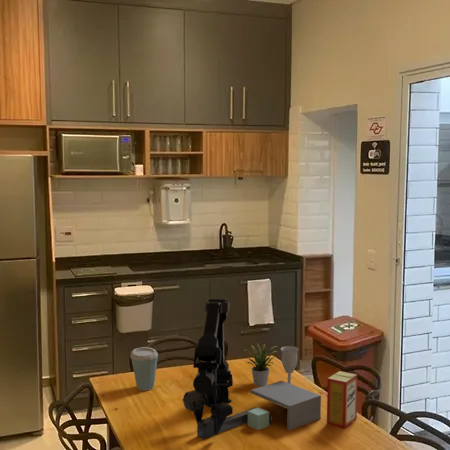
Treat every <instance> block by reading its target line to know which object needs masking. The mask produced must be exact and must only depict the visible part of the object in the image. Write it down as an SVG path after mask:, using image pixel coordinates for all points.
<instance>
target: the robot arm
mask: <svg viewBox="0 0 450 450" xmlns="http://www.w3.org/2000/svg"><path fill="white" fill-rule="evenodd" d="M203 303H204V305H203V307H204V309H203V310H204V311H203V312H204V313H206V315H205V321H204V328H203V329H204V330H203V334H202V336H201V337H199V338H198V340H197V345H196V346H195V348H194V356H193V363H192V364H193V366H192V368H193V369H195V368H196V369H197V373H196V375H195V377H194V379H193V381H192V386H193V388H194V390H189V391H186V392H184V393H185V394H184V395H183V398H182V402H183V405H184V408H185V409H186V410H188V411H190V412H192V413H193V416H194V418H195V421H196V423H197V421H200V420H203V417H204V416H203V414H204V410H205V407H208V408H210V414H211V415H210V416H209V417H212V418H213V420H214V432H215V434H217V435H219V434H220V433H219V431H220V429H221V427H222V425H223V423H224V421H225V419H226V418H227V417H229V416H232V415H234V413H233V411H234V409H233V406H232V405H230V404H229V403H231V402H232V399H230V398H229V396H230V395H229V394H230V393H229V388H231V387H233V385H234V384H233V383H234V381H233V373H232V372H231V370H230V365H229V363H228V361H227V360H226V359H225V324H224V323H225V321H227V317H228V314H229V312H230V309H231V308H230V307H231V304H230V301H229V300H228V299H227V298H218V297H217V298H215V297H209V299H208V300H207V301H206V300H205V301H204V302H203Z"/></svg>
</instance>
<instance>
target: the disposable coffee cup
mask: <svg viewBox="0 0 450 450" xmlns="http://www.w3.org/2000/svg"><path fill="white" fill-rule="evenodd" d="M158 357H159V352H157V350H156V349H155V348H152V347H150V346H149V347H148V346H142V347H137V348H134V349H133V350H132V351H131V353H130V359H131V362H132V368H133V373H134V374H133V375H134V379H135V384H136V389H137V390H139V391H142V392H143V391H144V392H145V391H150V390H153V389H154V387H155V383H156V382H155V381H156V375H157V373H156V372H157V365H158Z"/></svg>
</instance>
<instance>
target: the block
mask: <svg viewBox="0 0 450 450" xmlns="http://www.w3.org/2000/svg"><path fill="white" fill-rule="evenodd" d="M254 408H255V409H252V408H251V409H252V410H250V411H248V422H247V426H248V427H250V428H252V429H254V430H257V431H261V430H263V429H265V428H267V427H270V424H269V414H270V411H268V410H266V409H264V408H261V407H259V406H258V407H254Z"/></svg>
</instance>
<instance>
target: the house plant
mask: <svg viewBox="0 0 450 450" xmlns="http://www.w3.org/2000/svg"><path fill="white" fill-rule="evenodd" d="M256 345H257V347H258V348H259V349H257V348H256V347H255V346H254V345H251V347H252V350H253V354H252V353H251V352H250V351H248V350H247V349H243V350H244V351H247V352H249V354H250V355H252V357H253V359H252V358H250V357H247V359H248V360H249V361H246V362H245V363H247V364H251V366H252V367H251V374H252V379H253V385H254V386H256V387H262V386H265V385H268V379H269V374H270V367H272V365H274V362H273V361H272V360H273V359H274V358H275V356H273V357H271V356H272V355H273V354H274V353H278V350H274V351H272V350H273V349H275V348H276V347H278V345H275V346H272V347H270V348H269V349H266V344H265V343H264V344H263V345H262V349H261V346H260V345H259V343H256ZM258 350H259V352H258ZM271 351H272V352H271ZM267 366H269V367H267Z"/></svg>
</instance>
